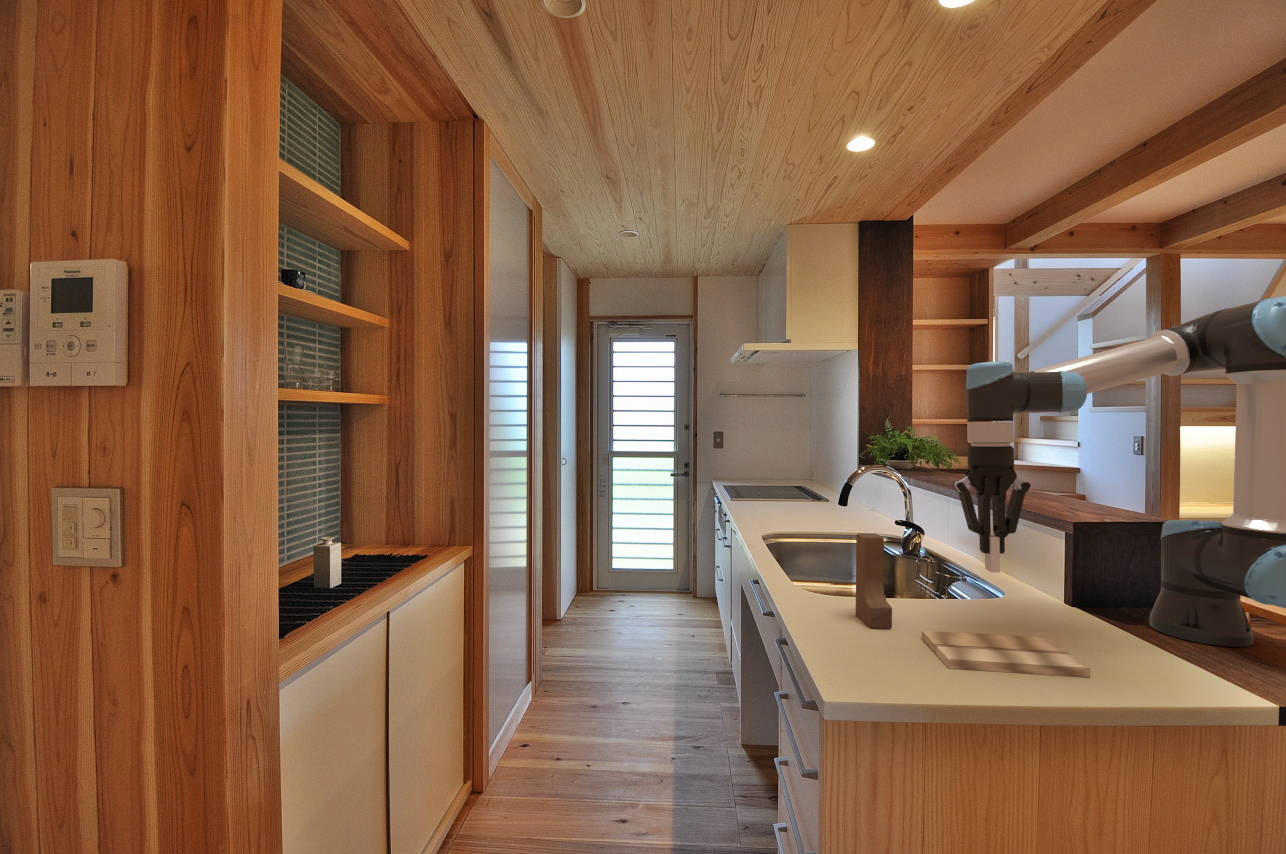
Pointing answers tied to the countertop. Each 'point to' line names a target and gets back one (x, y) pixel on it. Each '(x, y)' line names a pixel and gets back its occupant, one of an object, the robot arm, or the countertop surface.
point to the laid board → (1011, 660)
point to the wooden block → (871, 582)
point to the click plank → (988, 641)
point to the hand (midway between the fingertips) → (992, 570)
